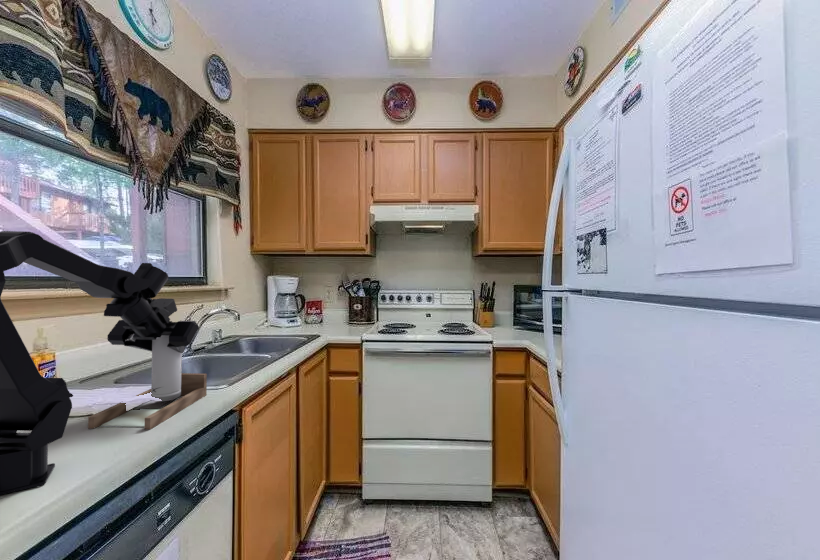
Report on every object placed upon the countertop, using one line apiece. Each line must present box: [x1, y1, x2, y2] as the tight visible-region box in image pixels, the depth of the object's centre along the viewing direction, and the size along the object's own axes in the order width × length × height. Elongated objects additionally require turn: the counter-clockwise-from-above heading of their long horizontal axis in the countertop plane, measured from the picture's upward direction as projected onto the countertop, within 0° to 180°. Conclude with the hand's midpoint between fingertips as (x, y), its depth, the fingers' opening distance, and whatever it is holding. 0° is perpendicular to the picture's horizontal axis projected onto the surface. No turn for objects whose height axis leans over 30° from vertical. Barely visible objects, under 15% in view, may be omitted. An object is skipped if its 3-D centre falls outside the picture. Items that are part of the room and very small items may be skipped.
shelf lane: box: [87, 372, 208, 431], centre depth 83 cm, size 21×13×6 cm, turn 1°
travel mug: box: [150, 320, 183, 402], centre depth 87 cm, size 6×7×20 cm
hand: (170, 351), depth 88 cm, fingers closed on travel mug, 6 cm apart
